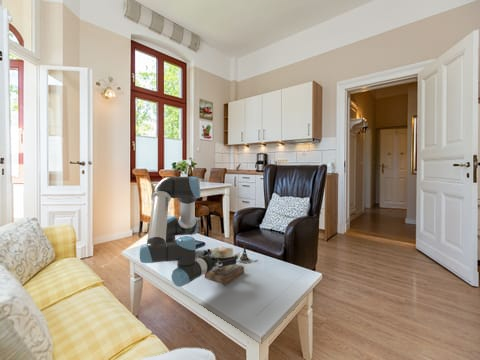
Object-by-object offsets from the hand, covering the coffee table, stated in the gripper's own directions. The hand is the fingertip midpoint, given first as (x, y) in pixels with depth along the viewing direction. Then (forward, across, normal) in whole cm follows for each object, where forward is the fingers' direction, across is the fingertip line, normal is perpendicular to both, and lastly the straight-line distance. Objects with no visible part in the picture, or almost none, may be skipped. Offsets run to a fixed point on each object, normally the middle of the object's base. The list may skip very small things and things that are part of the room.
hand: (228, 251), depth 127 cm
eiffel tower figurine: (+20, -2, -12) cm, 24 cm away
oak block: (-3, 0, -8) cm, 8 cm away
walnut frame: (-3, 0, -12) cm, 12 cm away
